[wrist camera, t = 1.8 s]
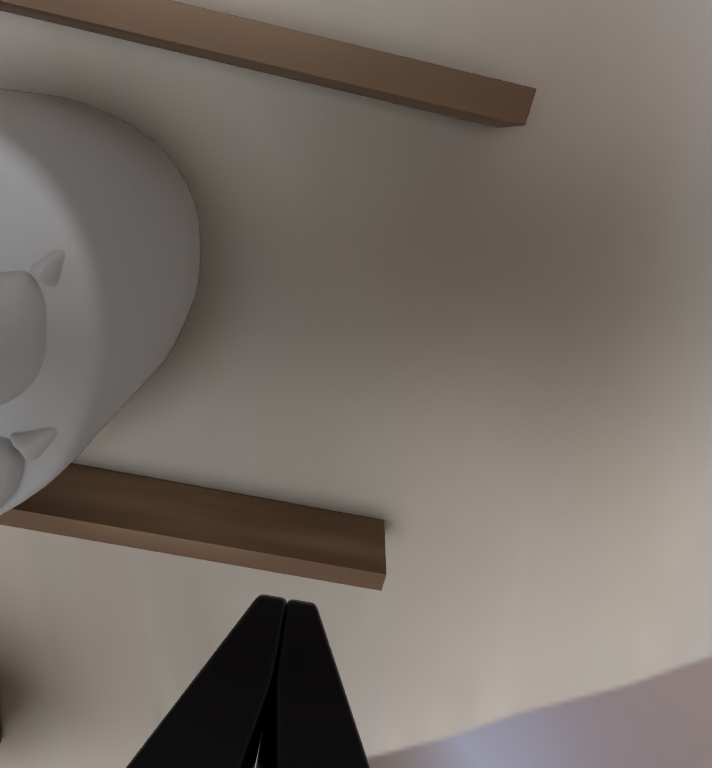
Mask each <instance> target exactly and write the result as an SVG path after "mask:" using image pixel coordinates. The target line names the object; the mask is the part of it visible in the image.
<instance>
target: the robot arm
mask: <svg viewBox="0 0 712 768" xmlns="http://www.w3.org/2000/svg"><path fill="white" fill-rule="evenodd" d="M286 604H287V606H286ZM260 739H261V740H260ZM0 742H1V732H0ZM259 744H260V746H259ZM258 749H259V751H258ZM257 753H258V758H257ZM256 758H257V764H256V768H370V766H369V763H368V760H367V757H366V754H365V751H364V748H363V745H362V742H361V739H360V736H359V733H358V730H357V727H356V724H355V721H354V718H353V715H352V712H351V709H350V706H349V703H348V700H347V696H346V693H345V690H344V687H343V684H342V681H341V678H340V675H339V672H338V669H337V666H336V663H335V660H334V657H333V654H332V651H331V648H330V645H329V642H328V639H327V636H326V633H325V630H324V627H323V624H322V621H321V618H320V614H319V611H318V609H317V607H316V605H315V604H314V603H311V602H305V601H299V600H289V601H288V603H287V602H286V600H285V599H284V598H281V597H276V596H270V595H259V596H258V597H257V598H256V599H255V600H254V602H253V603H252V604H251V606H250V607H249V608H248V610H247V611H246V612H245V613H244V615H243V616H242V617H241V619H240V620H239V621H238V623H237V624H236V625H235V626H234V628H233V629H232V630H231V632H230V633H229V634H228V636H227V637H226V638H225V639H224V641H223V642H222V643H221V645H220V646H219V647H218V649H217V650H216V651H215V652H214V654H213V655H212V656H211V658H210V659H209V660H208V662H207V663H206V664H205V665H204V667H203V668H202V669H201V671H200V672H199V673H198V675H197V676H196V677H195V679H194V680H193V681H192V682H191V684H190V685H189V686H188V688H187V689H186V690H185V692H184V693H183V694H182V695H181V697H180V698H179V699H178V701H177V702H176V703H175V705H174V706H173V707H172V708H171V710H170V711H169V712H168V714H167V715H166V716H165V718H164V719H163V720H162V721H161V723H160V724H159V725H158V727H157V728H156V729H155V731H154V732H153V733H152V735H151V736H150V737H149V738H148V740H147V741H146V742H145V744H144V745H143V746H142V748H141V749H140V750H139V751H138V753H137V754H136V755H135V757H134V758H133V759H132V761H131V762H130V763H129V764H128V766H127V767H126V768H254V767H255V763H256Z"/></svg>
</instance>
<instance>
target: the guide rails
mask: <svg viewBox="0 0 712 768" xmlns="http://www.w3.org/2000/svg"><path fill="white" fill-rule="evenodd" d="M0 10H1V11H6V12H10V13H14V14H18V15H23V16H27V17H31V18H35V19H40V20H44V21H48V22H52V23H57V24H61V25H65V26H69V27H74V28H78V29H82V30H86V31H90V32H95V33H99V34H103V35H107V36H112V37H116V38H120V39H124V40H129V41H133V42H137V43H141V44H146V45H150V46H154V47H158V48H163V49H167V50H171V51H175V52H180V53H184V54H188V55H192V56H197V57H201V58H205V59H209V60H214V61H218V62H222V63H226V64H230V65H235V66H239V67H243V68H247V69H252V70H256V71H260V72H264V73H269V74H273V75H277V76H281V77H286V78H290V79H294V80H298V81H303V82H307V83H311V84H315V85H320V86H324V87H328V88H332V89H337V90H341V91H345V92H349V93H354V94H358V95H362V96H366V97H370V98H375V99H379V100H383V101H387V102H392V103H396V104H400V105H404V106H409V107H413V108H417V109H421V110H426V111H430V112H434V113H438V114H443V115H447V116H451V117H455V118H460V119H464V120H468V121H472V122H477V123H481V124H485V125H489V126H494V127H498V128H499V127H511V126H522V125H525V124H526V121H527V117H528V114H529V111H530V108H531V105H532V101H533V98H534V95H535V92H536V89H535V88H531V87H526V86H522V85H518V84H514V83H510V82H506V81H502V80H498V79H493V78H489V77H485V76H481V75H477V74H473V73H469V72H464V71H460V70H456V69H452V68H448V67H444V66H440V65H435V64H431V63H427V62H423V61H419V60H415V59H411V58H407V57H402V56H398V55H394V54H390V53H386V52H382V51H378V50H373V49H369V48H365V47H361V46H357V45H353V44H349V43H345V42H340V41H336V40H332V39H328V38H324V37H320V36H316V35H311V34H307V33H303V32H299V31H295V30H291V29H287V28H283V27H278V26H274V25H270V24H266V23H262V22H258V21H254V20H249V19H245V18H241V17H237V16H233V15H229V14H225V13H220V12H216V11H212V10H208V9H204V8H200V7H196V6H192V5H187V4H183V3H179V2H175V1H171V0H0ZM0 524H1V525H7V526H12V527H18V528H24V529H30V530H35V531H41V532H47V533H53V534H58V535H64V536H70V537H76V538H81V539H87V540H93V541H99V542H105V543H110V544H116V545H122V546H128V547H133V548H139V549H145V550H151V551H156V552H162V553H168V554H174V555H179V556H185V557H191V558H197V559H202V560H208V561H214V562H220V563H225V564H231V565H237V566H243V567H248V568H254V569H260V570H266V571H272V572H277V573H283V574H289V575H295V576H300V577H306V578H312V579H318V580H323V581H329V582H335V583H341V584H346V585H352V586H358V587H364V588H369V589H375V590H382V587H383V583H384V580H385V577H386V556H385V530H384V521H383V520H378V519H372V518H367V517H361V516H356V515H350V514H345V513H339V512H334V511H328V510H323V509H317V508H312V507H306V506H301V505H295V504H290V503H284V502H279V501H274V500H268V499H263V498H257V497H252V496H246V495H241V494H235V493H230V492H224V491H219V490H213V489H208V488H202V487H197V486H191V485H186V484H180V483H175V482H169V481H164V480H158V479H153V478H148V477H142V476H137V475H131V474H126V473H120V472H115V471H109V470H104V469H98V468H93V467H87V466H82V465H76V464H71V463H70V464H69V465H68V466H67V467H66V468H65V469H64V470H63V471H62V472H61V473H60V474H59V475H58V476H57V477H56V478H54V479H53V480H52V481H51V482H50V483H49V484H47V485H46V486H45V487H44V488H42V489H41V490H40V491H38V492H37V493H35V494H34V495H32V496H31V497H29V498H28V499H27V500H25V501H24V502H22V503H20V504H19V505H17V506H15V507H14V508H12V509H10V510H9V511H7V512H5V513H3V514H2V515H0Z"/></svg>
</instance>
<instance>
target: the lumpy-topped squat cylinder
mask: <svg viewBox="0 0 712 768" xmlns="http://www.w3.org/2000/svg"><path fill="white" fill-rule="evenodd" d="M199 270H200V230H199V222H198V216H197V211H196V207H195V203H194V200H193V197H192V195H191V192H190V190H189V188H188V186H187V184H186V182H185V180H184V178H183V176H182V175H181V173H180V172H179V170H178V169H177V167H176V166H175V164H174V163H173V162H172V160H171V159H170V158H169V157H168V156H167V154H166V153H165V152H164V151H163V150H162V149H161V148H160V147H159V146H158V145H157V144H156V143H155V142H153V141H152V140H151V139H150V138H148V137H147V136H146V135H144V134H143V133H142V132H140V131H139V130H137V129H136V128H134V127H132V126H131V125H129V124H127V123H125V122H124V121H122V120H120V119H118V118H116V117H114V116H112V115H110V114H108V113H105V112H103V111H101V110H98V109H96V108H94V107H91V106H88V105H86V104H83V103H80V102H77V101H74V100H71V99H67V98H63V97H57V96H51V95H43V94H36V93H28V92H21V91H13V90H6V89H0V515H2V514H3V513H5V512H7V511H9V510H10V509H12V508H14V507H15V506H17V505H19V504H20V503H22V502H24V501H25V500H27V499H28V498H29V497H31V496H32V495H34V494H35V493H37V492H38V491H40V490H41V489H42V488H44V487H45V486H46V485H47V484H49V483H50V482H51V481H52V480H53V479H54V478H56V477H57V476H58V475H59V474H60V473H61V472H62V471H63V470H64V469H65V468H66V467H67V466H68V465H69V464H70V463H71V462H72V461H73V460H74V459H75V458H76V457H77V456H78V455H79V454H80V453H81V452H82V451H83V450H84V449H85V447H86V446H87V445H88V444H89V443H90V442H91V441H92V439H93V438H94V437H95V436H96V435H97V433H98V432H99V431H100V430H101V429H102V428H103V427H104V426H105V425H106V424H107V422H108V421H109V420H110V419H111V418H112V417H113V416H114V415H115V414H116V413H117V412H118V411H119V410H120V409H121V407H122V406H123V405H124V404H125V403H126V402H127V401H128V400H129V399H130V398H131V397H132V396H133V394H134V393H135V392H136V391H137V390H138V389H139V388H140V387H141V386H142V385H143V384H144V383H145V382H146V380H147V379H148V378H149V377H150V376H151V375H152V374H153V373H154V372H155V371H156V370H157V369H158V367H159V366H160V365H161V364H162V363H163V362H164V360H165V359H166V358H167V356H168V354H169V353H170V351H171V349H172V347H173V345H174V344H175V342H176V340H177V338H178V336H179V334H180V331H181V329H182V327H183V325H184V323H185V320H186V318H187V316H188V313H189V311H190V308H191V305H192V303H193V300H194V296H195V293H196V289H197V285H198V279H199Z"/></svg>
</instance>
